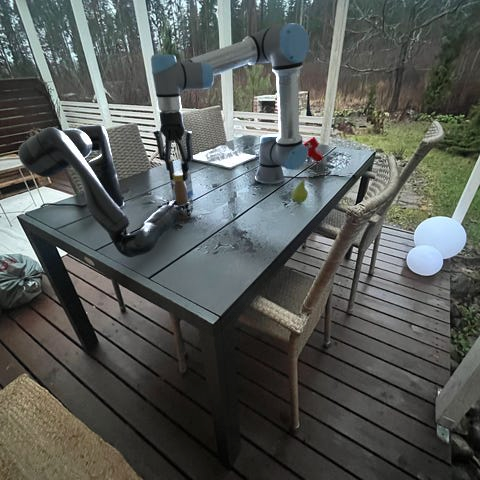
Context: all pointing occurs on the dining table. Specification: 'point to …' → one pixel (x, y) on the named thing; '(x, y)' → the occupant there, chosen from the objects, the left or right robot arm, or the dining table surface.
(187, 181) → the ink box
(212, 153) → the relief map
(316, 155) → the toy gun
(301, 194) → the fruit
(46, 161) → the left robot arm
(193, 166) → the dining table surface
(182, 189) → the bottle
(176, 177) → the cap
